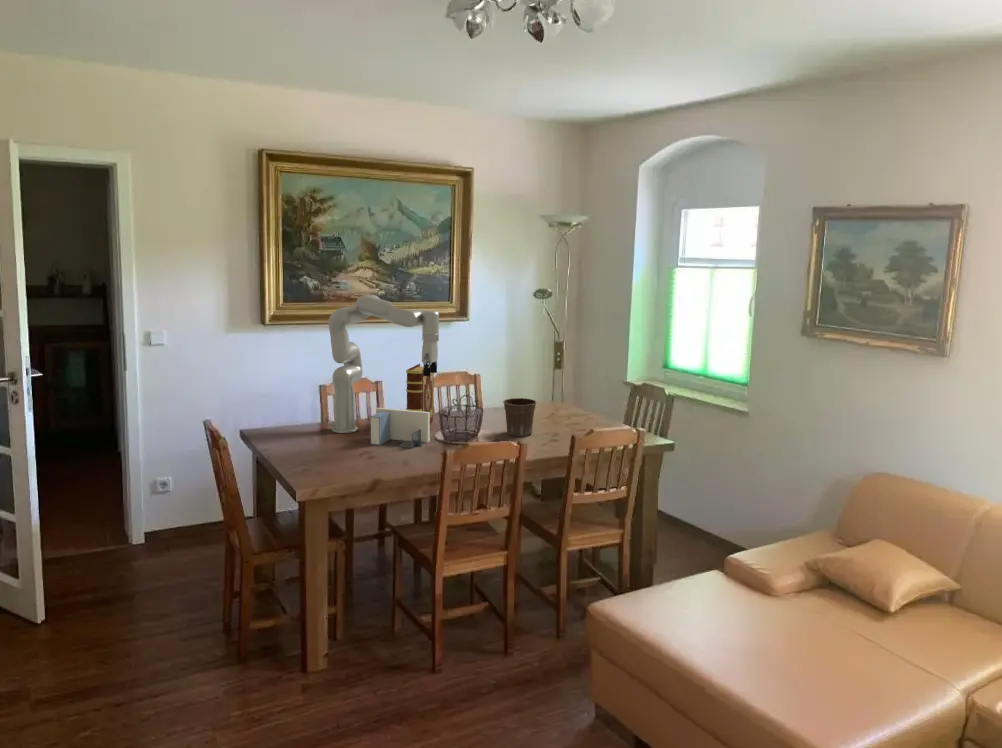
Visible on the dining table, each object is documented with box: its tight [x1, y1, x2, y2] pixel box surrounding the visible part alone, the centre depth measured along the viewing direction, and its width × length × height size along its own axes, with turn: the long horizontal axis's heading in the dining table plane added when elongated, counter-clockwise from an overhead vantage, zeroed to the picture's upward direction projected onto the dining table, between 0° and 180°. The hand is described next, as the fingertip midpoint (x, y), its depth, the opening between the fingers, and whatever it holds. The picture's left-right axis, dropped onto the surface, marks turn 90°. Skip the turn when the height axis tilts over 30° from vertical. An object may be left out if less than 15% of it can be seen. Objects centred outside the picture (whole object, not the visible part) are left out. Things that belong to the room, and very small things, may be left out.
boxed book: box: [370, 412, 391, 446], centre depth 354 cm, size 4×11×13 cm, turn 164°
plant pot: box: [502, 397, 538, 437], centre depth 375 cm, size 16×16×16 cm
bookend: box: [397, 429, 423, 449], centre depth 351 cm, size 10×10×6 cm
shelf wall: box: [375, 407, 431, 444], centre depth 359 cm, size 26×3×14 cm, turn 74°
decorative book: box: [405, 363, 435, 424], centre depth 385 cm, size 22×8×30 cm, turn 168°
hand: (430, 374), depth 357 cm, fingers open, 9 cm apart
